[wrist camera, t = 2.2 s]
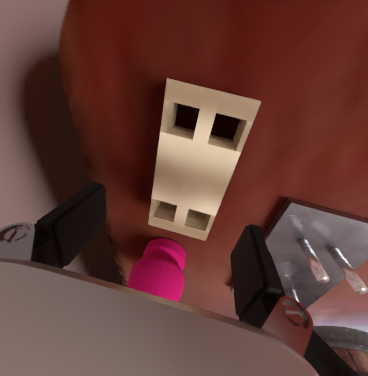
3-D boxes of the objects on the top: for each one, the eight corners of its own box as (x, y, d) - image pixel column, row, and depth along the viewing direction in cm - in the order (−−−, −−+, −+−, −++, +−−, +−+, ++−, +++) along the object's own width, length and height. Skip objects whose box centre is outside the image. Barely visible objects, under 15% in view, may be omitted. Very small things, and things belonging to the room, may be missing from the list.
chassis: (287, 197, 18) (311, 234, 13) (392, 225, 18) (455, 274, 13) (230, 286, 28) (232, 326, 23) (297, 306, 27) (313, 351, 22)
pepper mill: (195, 266, 27) (152, 580, 10) (154, 268, 29) (61, 526, 12) (180, 232, 24) (78, 604, 6) (136, 237, 26) (-26, 526, 9)
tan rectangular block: (177, 80, 15) (167, 78, 12) (252, 98, 14) (261, 101, 11) (157, 206, 22) (148, 224, 19) (207, 220, 22) (205, 240, 19)
